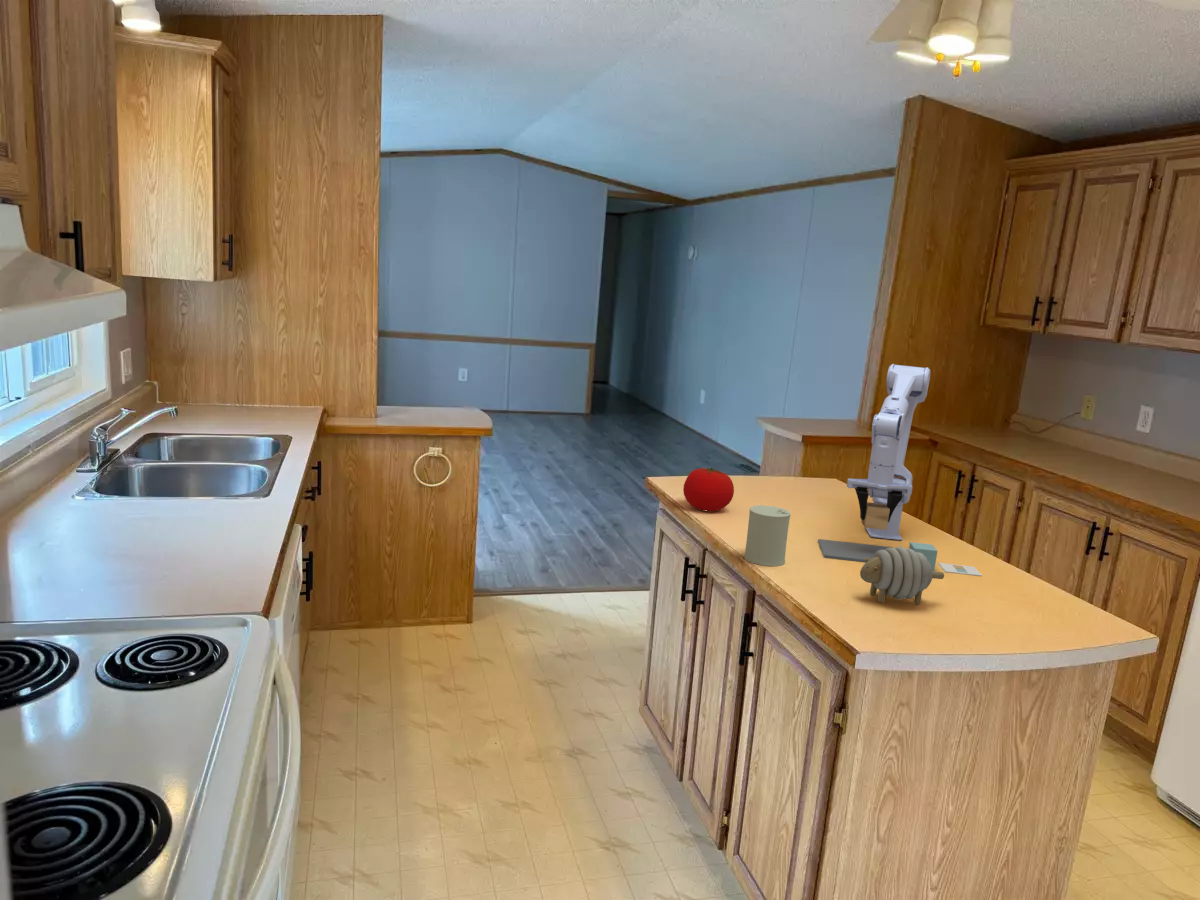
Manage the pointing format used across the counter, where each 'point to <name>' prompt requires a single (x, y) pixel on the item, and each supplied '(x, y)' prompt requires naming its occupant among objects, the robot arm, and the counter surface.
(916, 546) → the teal block
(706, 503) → the tomato
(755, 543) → the can
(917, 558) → the toy sheep
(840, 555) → the baseplate
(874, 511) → the brown wooden cube
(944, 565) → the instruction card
